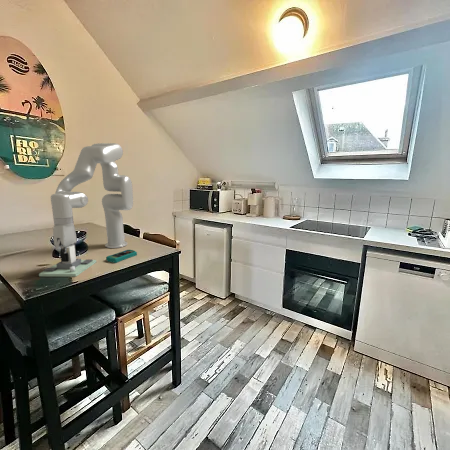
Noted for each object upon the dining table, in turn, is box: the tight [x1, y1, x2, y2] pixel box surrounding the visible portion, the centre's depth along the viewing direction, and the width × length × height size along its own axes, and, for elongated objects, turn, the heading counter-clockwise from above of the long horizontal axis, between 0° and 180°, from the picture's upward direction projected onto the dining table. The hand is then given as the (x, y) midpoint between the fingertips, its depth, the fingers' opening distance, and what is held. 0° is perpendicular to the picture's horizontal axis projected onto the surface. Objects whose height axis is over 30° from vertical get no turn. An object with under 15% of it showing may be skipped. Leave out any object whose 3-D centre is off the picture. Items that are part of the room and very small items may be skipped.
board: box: [38, 258, 97, 278], centre depth 119 cm, size 18×16×4 cm
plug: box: [62, 245, 77, 263], centre depth 118 cm, size 5×4×8 cm
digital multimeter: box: [105, 249, 138, 264], centre depth 135 cm, size 7×15×3 cm, turn 152°
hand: (68, 259), depth 119 cm, fingers closed on plug, 4 cm apart
